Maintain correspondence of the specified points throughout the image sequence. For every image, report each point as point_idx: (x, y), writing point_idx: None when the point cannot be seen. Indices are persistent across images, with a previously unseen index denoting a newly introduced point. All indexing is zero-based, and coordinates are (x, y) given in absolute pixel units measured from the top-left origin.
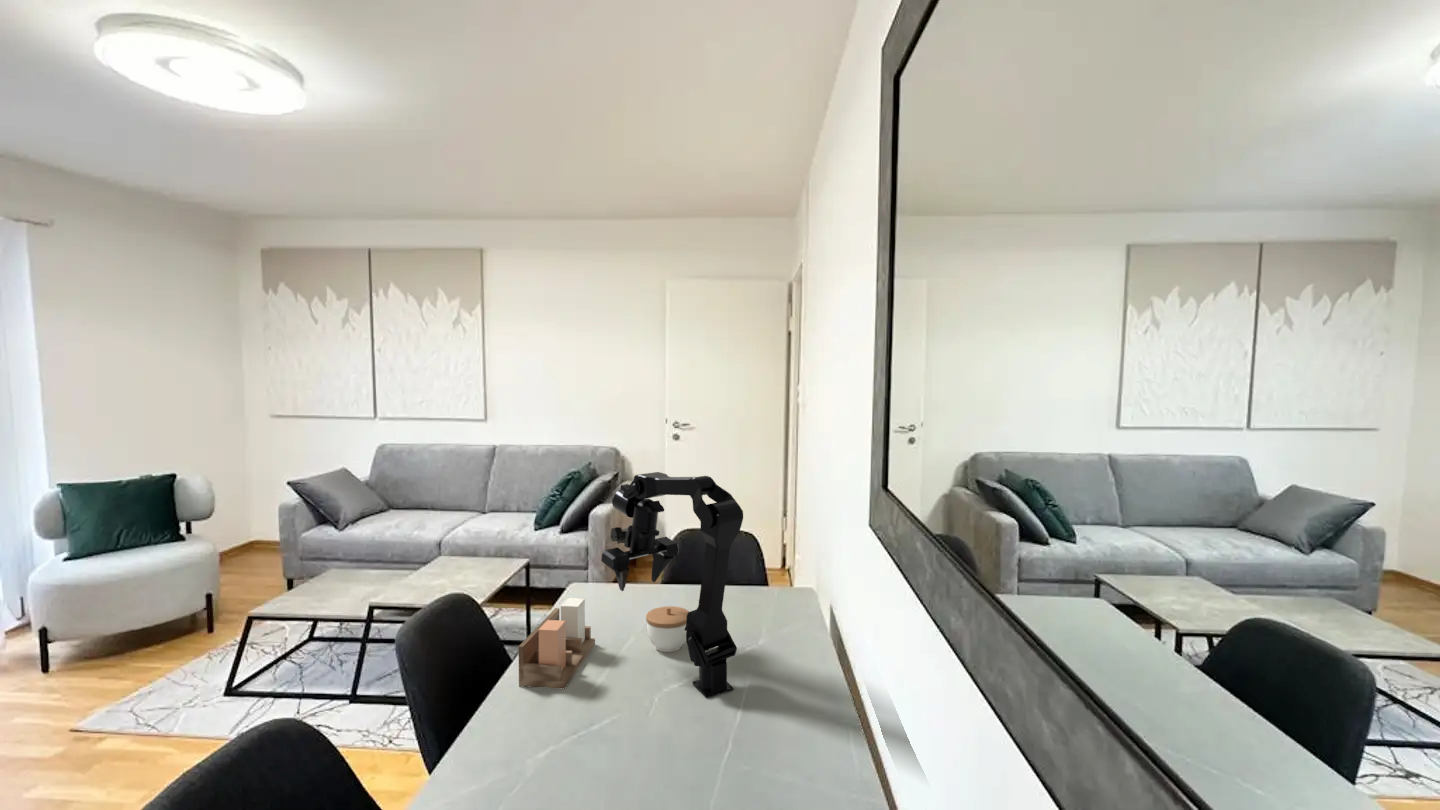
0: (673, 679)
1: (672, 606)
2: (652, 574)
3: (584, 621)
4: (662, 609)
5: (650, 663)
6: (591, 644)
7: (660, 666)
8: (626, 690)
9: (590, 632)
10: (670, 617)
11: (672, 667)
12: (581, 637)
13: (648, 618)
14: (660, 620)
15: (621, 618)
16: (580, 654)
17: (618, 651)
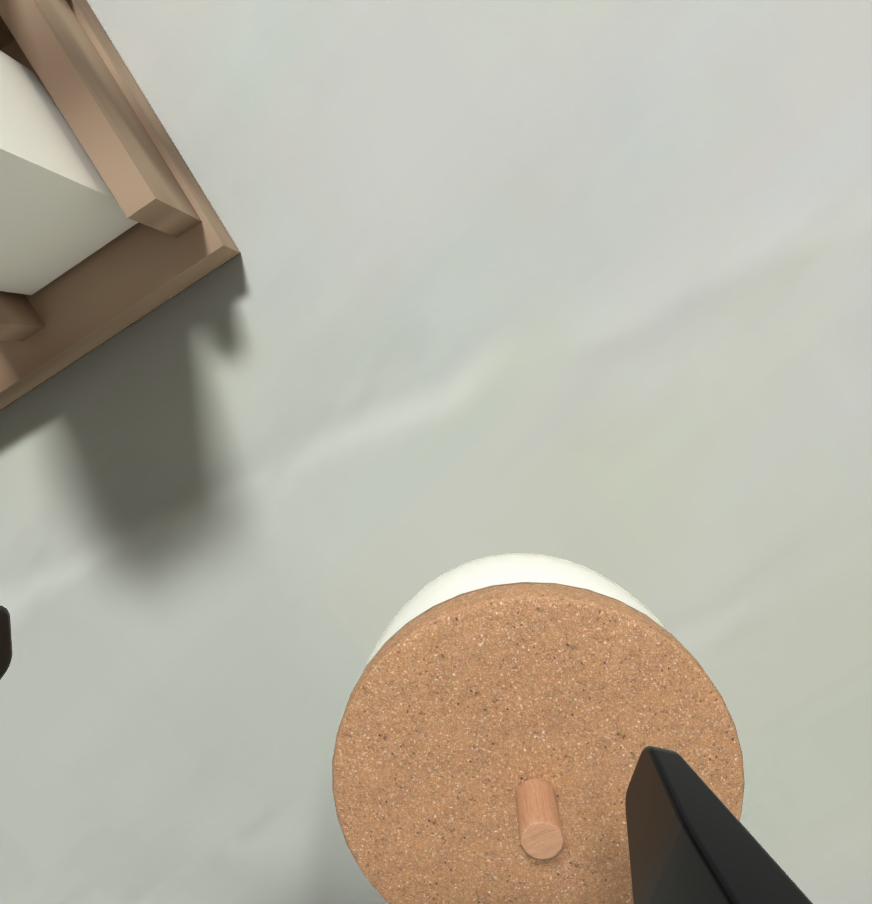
0: (239, 893)
1: (715, 707)
2: (681, 863)
3: (50, 178)
4: (587, 688)
5: (286, 701)
6: (160, 290)
7: (295, 764)
8: (17, 781)
9: (175, 213)
10: (483, 853)
11: (328, 819)
12: (57, 245)
13: (357, 705)
14: (382, 821)
15: (681, 50)
16: (10, 359)
17: (272, 451)
